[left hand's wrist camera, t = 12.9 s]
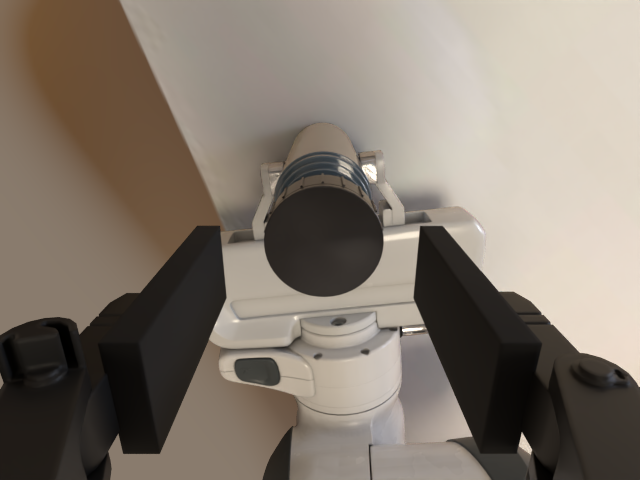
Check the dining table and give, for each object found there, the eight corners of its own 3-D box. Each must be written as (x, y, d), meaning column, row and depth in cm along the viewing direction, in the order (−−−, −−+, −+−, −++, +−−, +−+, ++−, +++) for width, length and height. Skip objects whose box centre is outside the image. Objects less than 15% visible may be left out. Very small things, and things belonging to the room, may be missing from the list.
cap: (397, 244, 17) (406, 263, 15) (305, 293, 18) (303, 317, 16) (344, 151, 15) (347, 160, 14) (246, 210, 16) (238, 225, 15)
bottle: (364, 164, 32) (411, 260, 16) (312, 195, 33) (302, 317, 16) (333, 110, 31) (348, 150, 14) (279, 143, 32) (232, 219, 15)
